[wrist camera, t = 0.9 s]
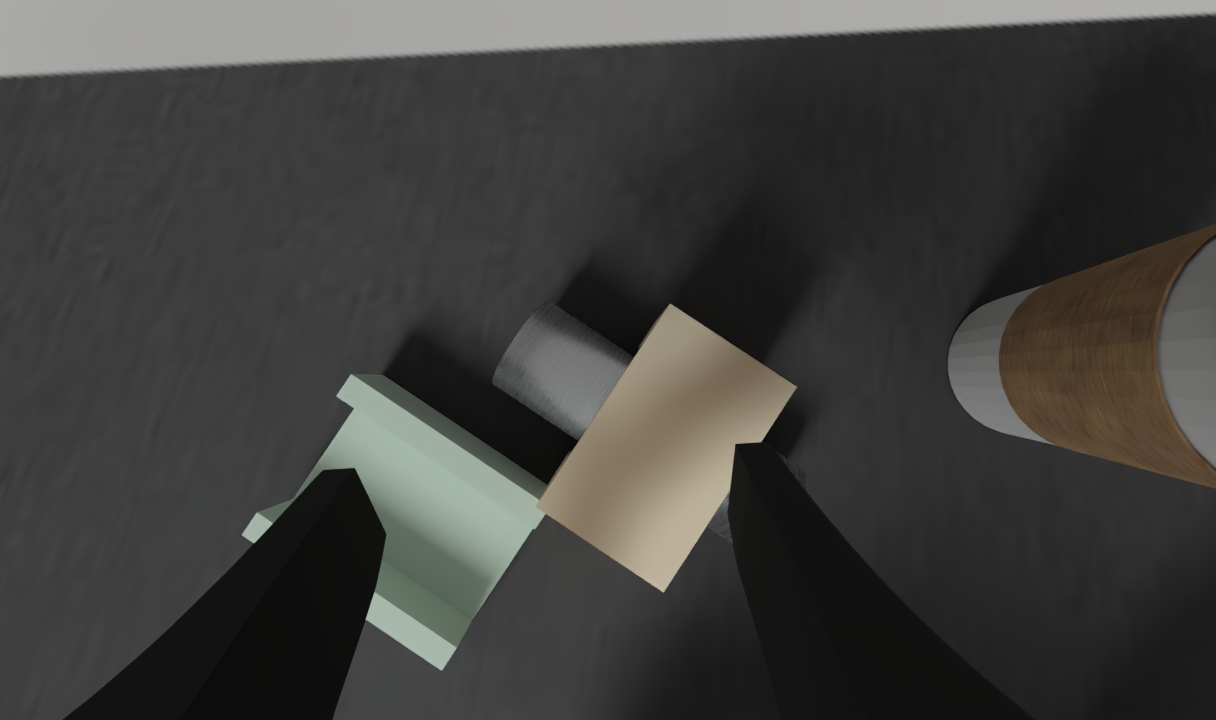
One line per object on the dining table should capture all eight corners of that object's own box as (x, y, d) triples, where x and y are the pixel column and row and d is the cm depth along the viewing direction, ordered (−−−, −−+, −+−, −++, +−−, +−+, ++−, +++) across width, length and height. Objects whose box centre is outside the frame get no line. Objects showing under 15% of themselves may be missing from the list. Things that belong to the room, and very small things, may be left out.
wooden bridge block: (752, 385, 24) (797, 387, 18) (649, 542, 24) (663, 592, 18) (655, 321, 24) (670, 303, 19) (552, 476, 24) (535, 507, 18)
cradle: (556, 491, 24) (549, 507, 21) (462, 634, 24) (441, 670, 21) (383, 374, 24) (351, 374, 21) (287, 515, 24) (241, 535, 21)
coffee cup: (894, 432, 24) (1368, 516, 9) (946, 245, 24) (1487, 30, 9) (1083, 487, 24) (1872, 665, 9) (1132, 299, 24) (1972, 171, 9)
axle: (782, 462, 24) (820, 472, 20) (733, 541, 24) (762, 567, 20) (553, 310, 25) (546, 291, 21) (501, 386, 24) (484, 382, 20)
